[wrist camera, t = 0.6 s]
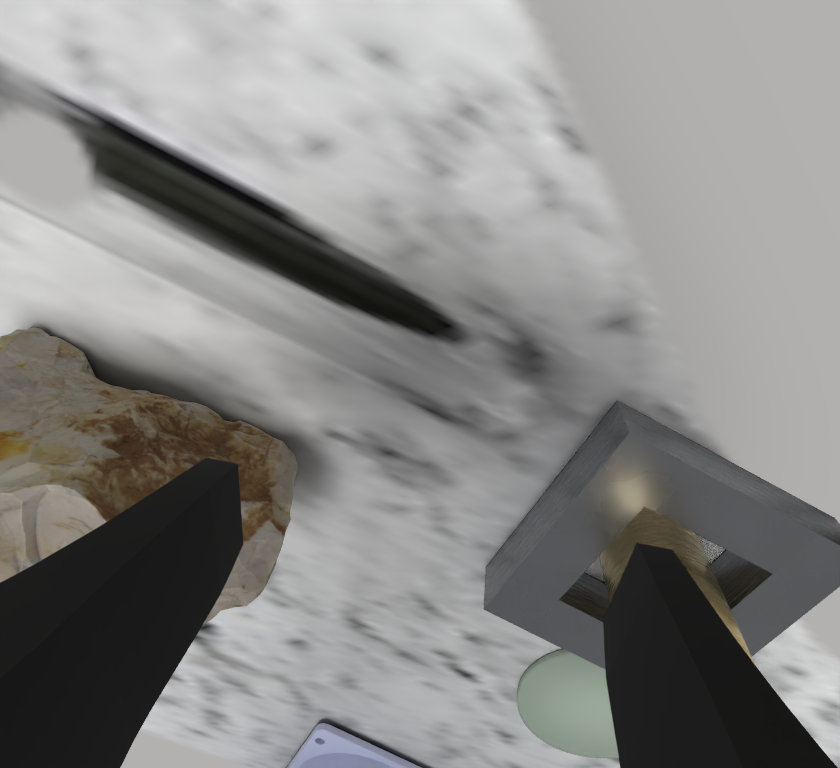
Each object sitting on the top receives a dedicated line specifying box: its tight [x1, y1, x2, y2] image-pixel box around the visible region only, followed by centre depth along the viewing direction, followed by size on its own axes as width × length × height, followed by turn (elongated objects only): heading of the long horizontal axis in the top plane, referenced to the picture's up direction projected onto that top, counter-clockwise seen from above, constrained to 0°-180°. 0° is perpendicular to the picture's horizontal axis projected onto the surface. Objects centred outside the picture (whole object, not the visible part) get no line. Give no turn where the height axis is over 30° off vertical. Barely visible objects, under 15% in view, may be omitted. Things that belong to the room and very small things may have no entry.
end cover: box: [600, 507, 756, 666], centre depth 18 cm, size 4×4×7 cm
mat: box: [518, 649, 619, 758], centre depth 25 cm, size 7×7×1 cm
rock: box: [0, 327, 298, 624], centre depth 19 cm, size 12×7×10 cm, turn 64°
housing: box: [484, 401, 840, 669], centre depth 20 cm, size 9×9×2 cm
